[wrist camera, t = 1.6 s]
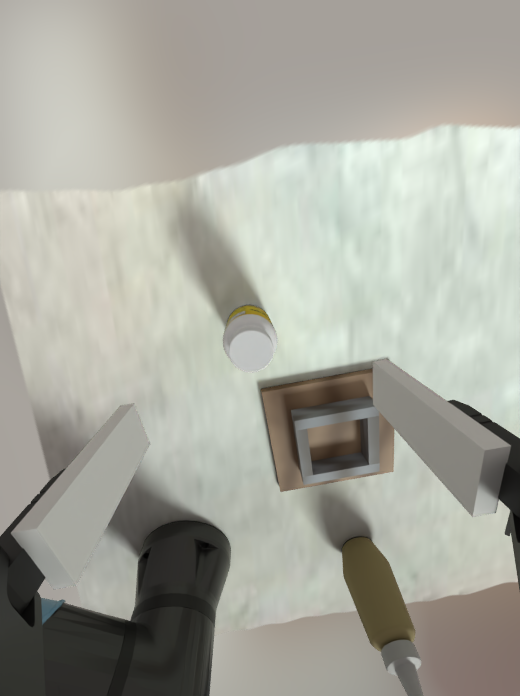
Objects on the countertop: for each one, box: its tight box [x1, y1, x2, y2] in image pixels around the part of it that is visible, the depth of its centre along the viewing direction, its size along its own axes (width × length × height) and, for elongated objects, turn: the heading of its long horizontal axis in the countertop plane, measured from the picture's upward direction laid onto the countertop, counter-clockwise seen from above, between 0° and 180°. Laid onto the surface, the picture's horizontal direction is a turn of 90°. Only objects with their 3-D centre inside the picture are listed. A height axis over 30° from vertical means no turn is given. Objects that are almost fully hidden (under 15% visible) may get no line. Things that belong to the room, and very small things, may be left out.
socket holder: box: [261, 369, 394, 492], centre depth 35 cm, size 18×18×4 cm
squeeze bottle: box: [342, 537, 423, 696], centre depth 37 cm, size 8×8×18 cm
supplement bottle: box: [223, 305, 277, 372], centre depth 26 cm, size 5×5×10 cm
